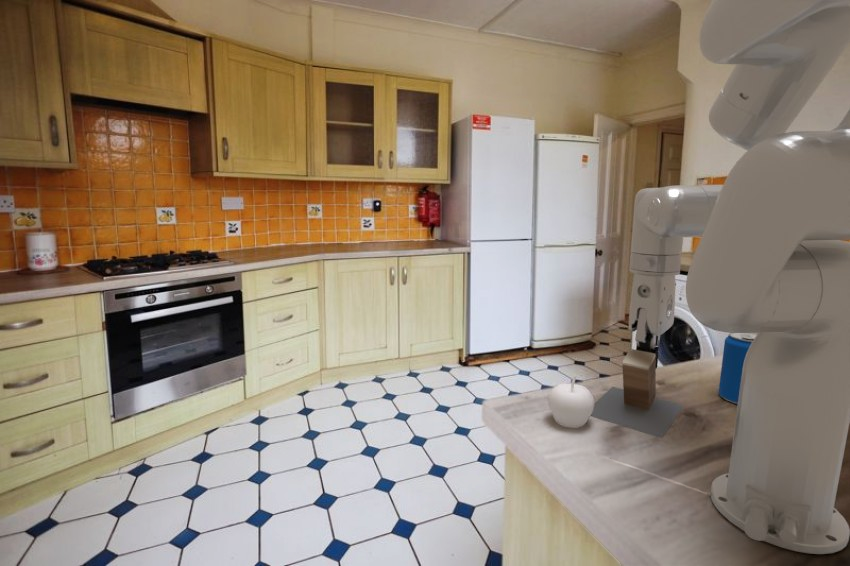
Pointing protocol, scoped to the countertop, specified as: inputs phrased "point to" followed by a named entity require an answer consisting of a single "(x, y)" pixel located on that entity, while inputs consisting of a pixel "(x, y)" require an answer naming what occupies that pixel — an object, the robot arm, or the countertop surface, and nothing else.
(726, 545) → the countertop surface
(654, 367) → the block
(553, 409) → the plain white apple
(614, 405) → the mat
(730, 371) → the beverage can
